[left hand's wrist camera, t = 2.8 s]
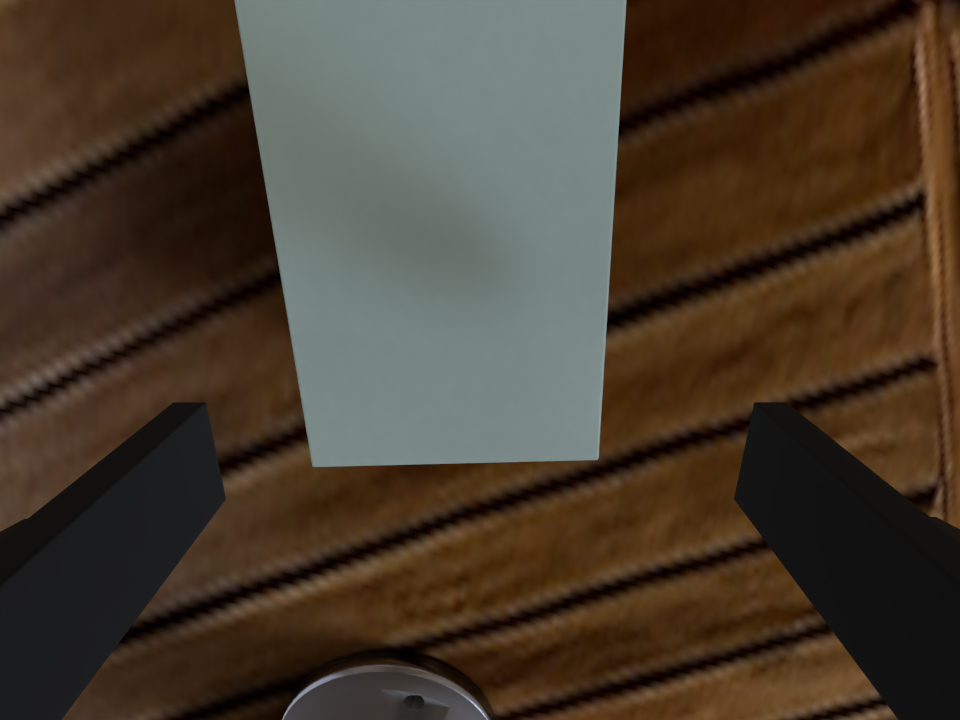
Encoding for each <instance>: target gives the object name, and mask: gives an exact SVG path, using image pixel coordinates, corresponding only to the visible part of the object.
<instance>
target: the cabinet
mask: <svg viewBox="0 0 960 720" xmlns="http://www.w3.org/2000/svg"><path fill="white" fill-rule="evenodd" d="M234 1H235V7H236V13H237V19H238V25H239V31H240V37H241V43H242V49H243V55H244V61H245V67H246V73H247V79H248V85H249V91H250V97H251V103H252V109H253V115H254V121H255V127H256V132H257V138H258V144H259V150H260V156H261V162H262V168H263V174H264V180H265V186H266V192H267V198H268V204H269V210H270V216H271V222H272V228H273V234H274V240H275V246H276V252H277V258H278V264H279V270H280V276H281V282H282V288H283V294H284V300H285V305H286V311H287V317H288V323H289V329H290V335H291V341H292V347H293V353H294V359H295V365H296V371H297V377H298V383H299V389H300V395H301V401H302V407H303V413H304V419H305V425H306V431H307V437H308V443H309V449H310V455H311V461H312V466H313V467H330V466H370V465H411V464H451V463H492V462H532V461H572V460H597V459H598V457H599V442H600V426H601V409H602V393H603V377H604V360H605V344H606V327H607V311H608V294H609V278H610V262H611V245H612V229H613V212H614V196H615V180H616V163H617V147H618V130H619V114H620V98H621V81H622V65H623V48H624V32H625V16H626V0H234Z"/></svg>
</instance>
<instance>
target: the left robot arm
mask: <svg viewBox="0 0 960 720" xmlns="http://www.w3.org/2000/svg"><path fill="white" fill-rule="evenodd" d="M225 500H226V497H225V492H224V487H223V483H222V478H221V473H220V468H219V464H218V459H217V454H216V449H215V445H214V440H213V435H212V430H211V426H210V421H209V416H208V411H207V406H206V403H172V404H171V405H170V406H169V407H167V408H166V409H165V410H164V411H162V412H161V413H160V414H159V415H157V416H156V417H155V418H154V419H152V420H151V421H150V422H149V423H147V424H146V425H145V426H144V427H142V428H141V429H140V430H139V431H137V432H136V433H135V434H134V435H132V436H131V437H130V438H129V439H127V440H126V441H125V442H124V443H122V444H121V445H120V446H119V447H117V448H116V449H115V450H114V451H112V452H111V453H110V454H109V455H107V456H106V457H105V458H104V459H102V460H101V461H100V462H98V463H97V464H96V465H95V466H93V467H92V468H91V469H90V470H88V471H87V472H86V473H85V474H83V475H82V476H81V477H80V478H78V479H77V480H76V481H75V482H73V483H72V484H71V485H70V486H68V487H67V488H66V489H65V490H63V491H62V492H61V493H60V494H58V495H57V496H56V497H55V498H53V499H52V500H51V501H50V502H48V503H47V504H46V505H45V506H43V507H42V508H41V509H40V510H38V511H37V512H36V513H35V514H33V515H32V516H31V517H30V518H28V519H24V520H22V521H20V522H18V523H16V524H14V525H12V526H10V527H8V528H7V529H5V530H3V531H1V532H0V720H61V719H62V718H63V717H64V715H65V714H66V713H67V711H68V710H69V709H70V707H71V706H72V705H73V703H74V702H75V701H76V699H77V698H78V697H79V695H80V694H81V693H82V691H83V690H84V689H85V687H86V686H87V685H88V683H89V682H90V681H91V679H92V678H93V677H94V675H95V674H96V673H97V671H98V670H99V669H100V667H101V666H102V664H103V663H104V662H105V660H106V659H107V658H108V656H109V655H110V654H111V652H112V651H113V650H114V648H115V647H116V646H117V644H118V643H119V642H120V640H121V639H122V638H123V636H124V635H125V634H126V632H127V631H128V630H129V628H130V627H131V626H132V624H133V623H134V622H135V620H136V619H137V618H138V616H139V615H140V614H141V612H142V611H143V609H144V608H145V607H146V605H147V604H148V603H149V601H150V600H151V599H152V597H153V596H154V595H155V593H156V592H157V591H158V589H159V588H160V587H161V585H162V584H163V583H164V581H165V580H166V579H167V577H168V576H169V575H170V573H171V572H172V571H173V569H174V568H175V567H176V565H177V564H178V563H179V561H180V560H181V559H182V557H183V556H184V555H185V553H186V552H187V550H188V549H189V548H190V546H191V545H192V544H193V542H194V541H195V540H196V538H197V537H198V536H199V534H200V533H201V532H202V530H203V529H204V528H205V526H206V525H207V524H208V522H209V521H210V520H211V518H212V517H213V516H214V514H215V513H216V512H217V510H218V509H219V508H220V506H221V505H222V504H223V502H224V501H225ZM734 500H735V501H736V502H737V504H738V505H739V506H740V508H741V509H742V510H743V512H744V513H745V514H746V516H747V517H748V518H749V520H750V521H751V522H752V524H753V525H754V526H755V528H756V529H757V530H758V532H759V533H760V534H761V536H762V537H763V538H764V540H765V541H766V542H767V544H768V545H769V546H770V548H771V549H772V550H773V552H774V553H775V555H776V556H777V557H778V559H779V560H780V561H781V563H782V564H783V565H784V567H785V568H786V569H787V571H788V572H789V573H790V575H791V576H792V577H793V579H794V580H795V581H796V583H797V584H798V585H799V587H800V588H801V589H802V591H803V592H804V593H805V595H806V596H807V597H808V599H809V600H810V601H811V603H812V604H813V605H814V607H815V608H816V610H817V611H818V612H819V614H820V615H821V616H822V618H823V619H824V620H825V622H826V623H827V624H828V626H829V627H830V628H831V630H832V631H833V632H834V634H835V635H836V636H837V638H838V639H839V640H840V642H841V643H842V644H843V646H844V647H845V648H846V650H847V651H848V652H849V654H850V655H851V656H852V658H853V659H854V660H855V662H856V663H857V664H858V666H859V667H860V669H861V670H862V671H863V673H864V674H865V675H866V677H867V678H868V679H869V681H870V682H871V683H872V685H873V686H874V687H875V689H876V690H877V691H878V693H879V694H880V695H881V697H882V698H883V699H884V701H885V702H886V703H887V705H888V706H889V707H890V709H891V710H892V711H893V713H894V714H895V715H896V717H897V718H898V719H899V720H960V529H958V528H956V527H954V526H952V525H950V524H948V523H946V522H944V521H943V520H941V519H939V518H937V517H929V516H928V515H927V514H925V513H924V512H923V511H922V510H920V509H919V508H918V507H917V506H915V505H914V504H913V503H912V502H910V501H909V500H908V499H907V498H905V497H904V496H903V495H902V494H900V493H899V492H898V491H897V490H895V489H894V488H893V487H892V486H890V485H889V484H888V483H887V482H885V481H884V480H883V479H882V478H880V477H879V476H878V475H877V474H875V473H874V472H873V471H872V470H870V469H869V468H868V467H867V466H865V465H864V464H863V463H862V462H860V461H859V460H858V459H856V458H855V457H854V456H853V455H851V454H850V453H849V452H848V451H846V450H845V449H844V448H843V447H841V446H840V445H839V444H838V443H836V442H835V441H834V440H833V439H831V438H830V437H829V436H828V435H826V434H825V433H824V432H823V431H821V430H820V429H819V428H818V427H816V426H815V425H814V424H813V423H811V422H810V421H809V420H808V419H806V418H805V417H804V416H803V415H801V414H800V413H799V412H798V411H796V410H795V409H794V408H793V407H791V406H790V405H789V404H788V403H754V406H753V411H752V416H751V421H750V426H749V430H748V435H747V440H746V445H745V449H744V454H743V459H742V464H741V468H740V473H739V478H738V483H737V487H736V492H735V497H734ZM282 720H495V718H494V714H493V711H492V708H491V706H490V704H489V702H488V700H487V699H486V697H485V696H484V694H483V693H482V692H481V691H480V690H479V688H478V687H477V686H476V685H475V684H474V683H472V682H471V681H470V680H469V679H468V678H466V677H465V676H463V675H462V674H461V673H459V672H457V671H456V670H454V669H452V668H450V667H448V666H446V665H444V664H441V663H439V662H436V661H434V660H431V659H427V658H424V657H420V656H415V655H410V654H403V653H392V652H376V653H365V654H358V655H353V656H349V657H345V658H342V659H338V660H336V661H333V662H331V663H328V664H326V665H324V666H322V667H320V668H319V669H317V670H316V671H314V672H312V673H311V674H310V675H309V676H307V677H306V678H305V679H304V680H303V681H302V682H301V683H300V684H299V685H298V686H297V688H296V689H295V690H294V692H293V694H292V695H291V697H290V699H289V702H288V704H287V707H286V710H285V713H284V716H283V718H282Z"/></svg>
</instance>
